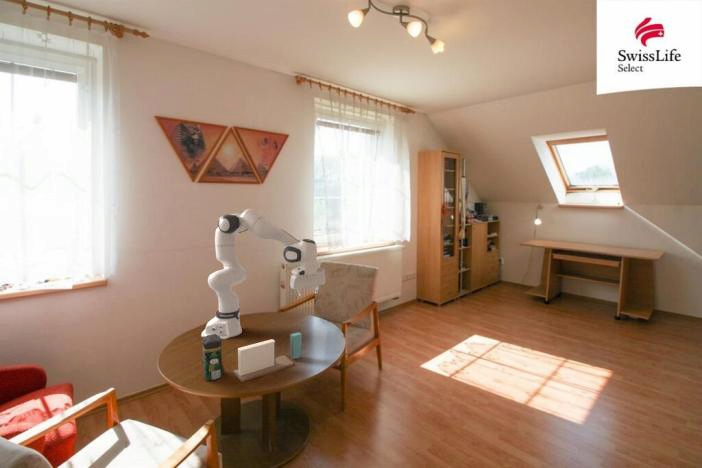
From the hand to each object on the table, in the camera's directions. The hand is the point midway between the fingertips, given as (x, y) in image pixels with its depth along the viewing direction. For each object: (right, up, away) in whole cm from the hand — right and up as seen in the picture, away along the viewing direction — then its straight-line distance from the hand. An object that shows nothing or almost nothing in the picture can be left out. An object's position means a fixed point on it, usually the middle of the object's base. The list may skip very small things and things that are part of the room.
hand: (308, 294), depth 186 cm
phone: (-43, -32, -20) cm, 57 cm away
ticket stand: (-18, -32, -21) cm, 42 cm away
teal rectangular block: (-5, -29, -11) cm, 32 cm away
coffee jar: (-40, -32, -28) cm, 59 cm away
